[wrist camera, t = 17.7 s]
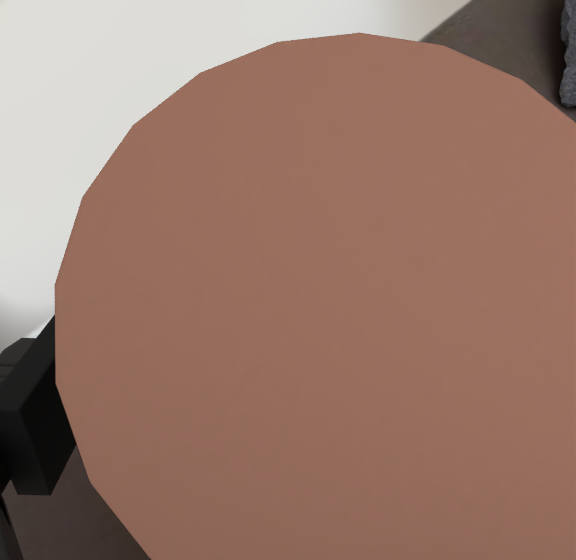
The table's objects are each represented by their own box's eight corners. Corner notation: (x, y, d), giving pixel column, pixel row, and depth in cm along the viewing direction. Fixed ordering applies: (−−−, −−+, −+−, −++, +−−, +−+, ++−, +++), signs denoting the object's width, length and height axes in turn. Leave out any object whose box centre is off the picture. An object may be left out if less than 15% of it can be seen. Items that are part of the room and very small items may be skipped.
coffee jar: (372, 249, 27) (527, -25, 10) (439, 437, 24) (816, 524, 7) (191, 302, 26) (4, 105, 9) (242, 500, 24) (117, 777, 6)
